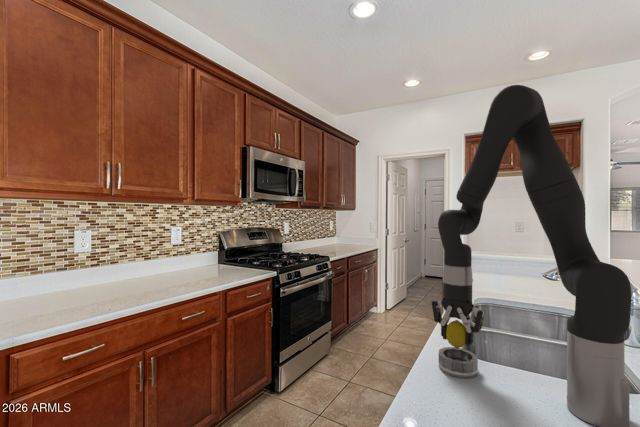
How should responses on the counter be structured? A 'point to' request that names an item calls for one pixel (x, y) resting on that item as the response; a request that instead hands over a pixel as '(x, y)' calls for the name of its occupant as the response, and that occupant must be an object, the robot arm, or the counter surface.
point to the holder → (458, 362)
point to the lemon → (456, 334)
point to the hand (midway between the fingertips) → (456, 341)
